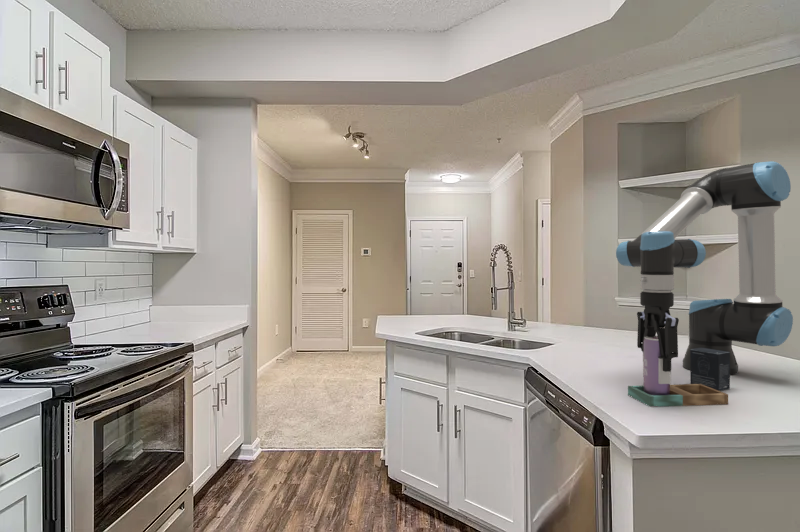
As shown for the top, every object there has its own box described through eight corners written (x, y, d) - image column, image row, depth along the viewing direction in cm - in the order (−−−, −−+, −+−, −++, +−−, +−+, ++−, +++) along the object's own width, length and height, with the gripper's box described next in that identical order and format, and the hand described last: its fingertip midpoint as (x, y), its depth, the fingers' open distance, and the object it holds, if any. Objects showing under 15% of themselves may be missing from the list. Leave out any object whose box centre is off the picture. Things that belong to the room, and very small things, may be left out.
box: (730, 389, 128) (730, 351, 128) (718, 392, 126) (718, 353, 126) (701, 382, 135) (701, 346, 135) (689, 384, 133) (689, 348, 133)
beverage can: (673, 398, 115) (673, 339, 115) (647, 397, 116) (647, 339, 116) (664, 392, 121) (665, 335, 121) (640, 390, 122) (640, 335, 122)
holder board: (700, 392, 125) (700, 383, 125) (728, 404, 115) (728, 394, 115) (627, 395, 123) (627, 385, 123) (649, 406, 114) (649, 396, 114)
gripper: (622, 288, 127) (622, 371, 128) (666, 294, 109) (666, 391, 109) (648, 288, 128) (648, 370, 128) (696, 293, 109) (695, 390, 110)
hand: (656, 379), depth 119 cm, fingers closed on beverage can, 6 cm apart
